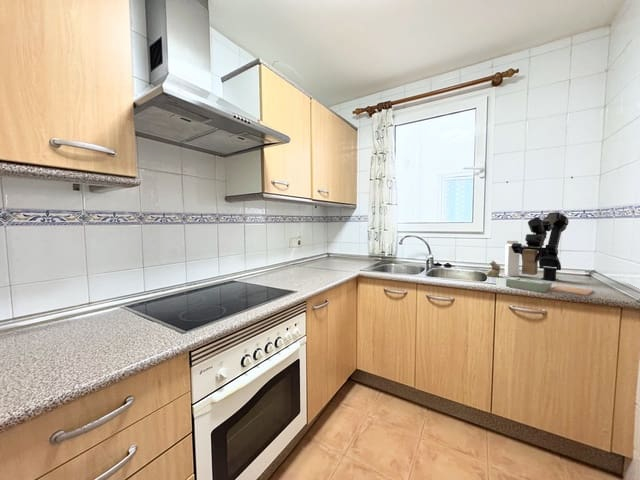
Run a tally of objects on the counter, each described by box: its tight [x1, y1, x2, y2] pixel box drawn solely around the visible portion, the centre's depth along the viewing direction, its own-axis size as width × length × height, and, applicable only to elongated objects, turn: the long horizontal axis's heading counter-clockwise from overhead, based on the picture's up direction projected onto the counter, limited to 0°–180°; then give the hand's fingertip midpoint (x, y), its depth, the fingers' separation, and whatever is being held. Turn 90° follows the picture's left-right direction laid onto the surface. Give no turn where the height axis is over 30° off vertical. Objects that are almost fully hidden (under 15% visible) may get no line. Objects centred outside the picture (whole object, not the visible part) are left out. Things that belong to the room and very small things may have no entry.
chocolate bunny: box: [485, 260, 501, 278], centre depth 166 cm, size 6×8×10 cm
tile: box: [548, 284, 595, 297], centre depth 128 cm, size 13×13×1 cm
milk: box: [504, 240, 521, 278], centre depth 166 cm, size 6×6×22 cm
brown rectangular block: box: [521, 249, 539, 276], centre depth 136 cm, size 5×5×12 cm
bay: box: [505, 277, 553, 293], centre depth 137 cm, size 14×15×4 cm
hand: (528, 261), depth 136 cm, fingers closed on brown rectangular block, 5 cm apart
